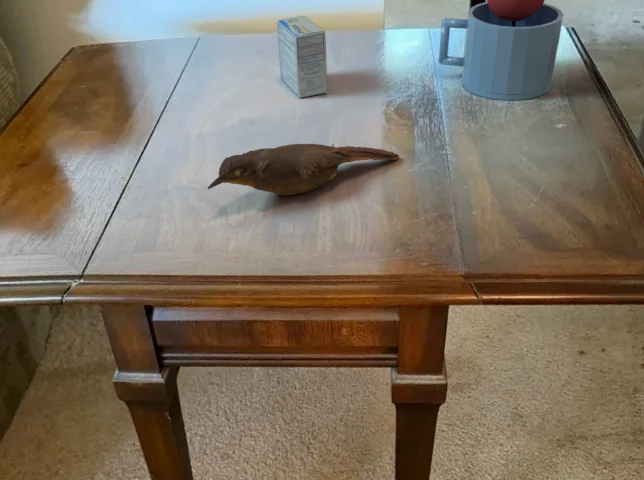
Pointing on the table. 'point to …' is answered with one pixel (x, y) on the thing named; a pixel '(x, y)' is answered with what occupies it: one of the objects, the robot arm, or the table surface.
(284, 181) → the bird sculpture
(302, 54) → the medicine box
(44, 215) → the table surface
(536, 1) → the lollipop
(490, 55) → the mug
